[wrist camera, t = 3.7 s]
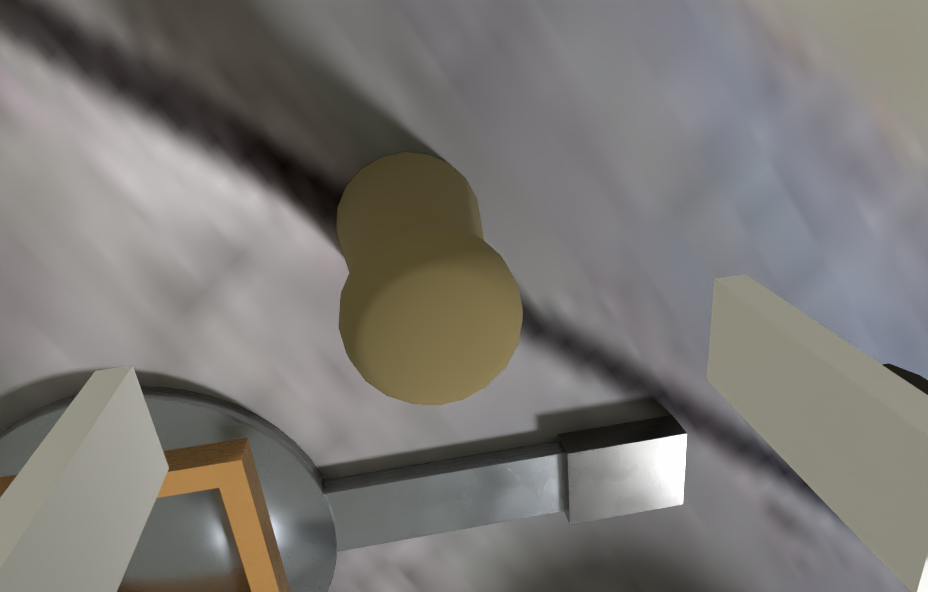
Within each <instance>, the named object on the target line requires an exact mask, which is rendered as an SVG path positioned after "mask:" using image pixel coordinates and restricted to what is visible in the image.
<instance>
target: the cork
mask: <svg viewBox="0 0 928 592" xmlns="http://www.w3.org/2000/svg"><path fill="white" fill-rule="evenodd" d="M336 231H337V234H338V238H339V241H340V245H341V248H342V252H343V255H344V258H345V261H346V264H347V267H348V270H349V275H348V278H347V280H346V282H345V285H344V287H343V290H342V292H341V298H340V314H339V330H340V334H341V337H342V340H343V343H344V347H345V350H346V353H347V355H348V357H349V359H350V361H351V362H352V363H353V365H354V366H355V367H356V369H357V370H358V371H359V373H360V374H361V375H362V377H363V378H364V379H365V381H366V382H368V383H369V384H371V385H372V386H374V387H375V388H376V389H378V390H379V391H381V392H382V393H384V394H385V395H387V396H389V397H392V398H396V399H399V400H402V401H405V402H408V403H411V404H422V405H442V404H446V403H450V402H454V401H458V400H462V399H465V398H467V397H468V396H470V395H472V394H474V393H476V392H477V391H479V390H481V389H483V388H485V387H486V386H487V385H488V384H489V383H490V382H491V381H492V380H493V379H494V378H495V377H496V376H497V375H498V374H499V373H500V372H501V371H502V370H503V369H504V368H505V367H506V366H507V364H508V362H509V360H510V358H511V357H512V355H513V353H514V351H515V349H516V347H517V345H518V342H519V336H520V330H521V325H522V314H523V311H522V305H521V299H520V293H519V287H518V284H517V282H516V280H515V279H514V277H513V275H512V273H511V272H510V270H509V268H508V266H507V265H506V263H505V261H504V260H503V258H502V257H501V255H500V254H498V253H497V252H496V251H495V250H494V249H493V248H492V247H490V246H489V245H488V244H487V243H486V242H485V241H484V238H483V231H482V225H481V218H480V213H479V208H478V202H477V198H476V196H475V194H474V192H473V191H472V189H471V187H470V185H469V183H468V182H467V180H466V178H464V177H463V176H462V175H461V174H460V173H459V172H458V171H457V170H456V169H455V168H453V167H452V166H451V165H450V164H449V163H447V162H445V161H442V160H440V159H438V158H435V157H433V156H431V155H429V154H421V153H411V152H401V153H397V154H392V155H388V156H383V157H380V158H379V159H377V160H375V161H374V162H372V163H370V164H369V165H367V166H365V167H364V168H362V169H361V170H360V171H359V172H358V173H357V174H356V175H355V177H354V178H353V179H352V180H351V181H350V182H349V184H348V185H347V186H346V188H345V190H344V193H343V195H342V198H341V200H340V203H339V205H338V208H337V225H336Z"/></svg>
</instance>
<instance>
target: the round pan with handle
mask: <svg viewBox="0 0 928 592" xmlns="http://www.w3.org/2000/svg"><path fill="white" fill-rule="evenodd" d="M141 390H142V393H143V396H144V399H145V402H146V404H147V407H148V410H149V413H150V416H151V419H152V421H153V424H154V427H155V430H156V433H157V436H158V438H159V441H160V444H161V447H162V450H163V453H164V455H165V458H166V461H167V464H168V467H169V469H168V472H167V474H166V476H165V479H164V481H163V484H162V486H161V488H160V491H159V493H158V495H157V498H156V500H155V503H154V505H153V507H152V510H151V512H150V514H149V517H148V519H147V521H146V524H145V526H144V529H143V531H142V533H141V536H140V538H139V540H138V543H137V545H136V547H135V550H134V552H133V555H132V557H131V559H130V562H129V564H128V566H127V569H126V571H125V573H124V576H123V578H122V581H121V583H120V585H119V588H118V590H117V592H327V591H328V589H329V586H330V583H331V581H332V578H333V574H334V569H335V564H336V553H337V552H338V551H343V550H349V549H354V548H360V547H366V546H371V545H377V544H382V543H388V542H393V541H399V540H405V539H410V538H416V537H421V536H427V535H432V534H438V533H444V532H449V531H455V530H460V529H466V528H471V527H477V526H483V525H488V524H494V523H499V522H505V521H510V520H516V519H522V518H527V517H533V516H538V515H544V514H549V513H555V512H561V511H564V512H565V514H566V516H567V519H568V521H569V524H570V525H572V524H577V523H583V522H588V521H594V520H599V519H605V518H610V517H616V516H621V515H627V514H632V513H638V512H643V511H649V510H654V509H660V508H665V507H671V506H676V505H682V504H683V496H684V478H685V461H686V443H687V433H686V432H685V430H684V429H683V428H682V427H681V425H680V424H679V423H678V422H677V420H676V419H675V418H674V417H673V415H672V416H666V417H660V418H654V419H648V420H642V421H636V422H630V423H624V424H618V425H612V426H606V427H600V428H594V429H588V430H582V431H576V432H570V433H564V434H558V440H559V441H556V442H550V443H544V444H538V445H532V446H526V447H520V448H515V449H509V450H503V451H497V452H491V453H485V454H479V455H473V456H467V457H461V458H455V459H449V460H443V461H437V462H431V463H425V464H420V465H414V466H408V467H402V468H396V469H390V470H384V471H378V472H372V473H366V474H360V475H354V476H348V477H342V478H336V479H331V480H324V478H323V476H322V474H321V473H320V472H319V470H318V469H317V467H316V466H315V464H314V463H313V462H312V460H311V459H310V457H309V456H308V455H307V454H306V453H305V452H304V451H303V450H302V449H301V448H300V447H299V446H298V445H297V444H296V443H295V442H294V441H293V440H292V439H291V438H289V437H288V436H287V435H286V434H284V433H283V432H282V431H281V430H280V429H278V428H277V427H275V426H274V425H272V424H271V423H269V422H267V421H266V420H264V419H263V418H261V417H259V416H258V415H256V414H254V413H252V412H249V411H247V410H245V409H243V408H241V407H239V406H237V405H235V404H232V403H229V402H226V401H223V400H220V399H217V398H214V397H211V396H207V395H203V394H199V393H194V392H190V391H186V390H178V389H170V388H161V387H141ZM76 396H77V395H75V396H72V397H69V398H66V399H63V400H60V401H57V402H54V403H51V404H49V405H47V406H45V407H43V408H41V409H39V410H37V411H34V412H32V413H30V414H29V415H27V416H25V417H24V418H22V419H21V420H19V421H18V422H16V423H15V424H13V425H12V426H10V427H9V428H8V429H7V430H6V431H4V432H3V433H2V434H1V435H0V498H1V496H2V495H3V494H4V492H5V491H6V490H7V488H8V487H9V485H10V484H11V483H12V481H13V480H14V479H15V477H16V476H17V475H18V473H19V472H20V471H21V469H22V468H23V467H24V465H25V464H26V463H27V461H28V460H29V459H30V457H31V456H32V455H33V453H34V452H35V451H36V449H37V448H38V447H39V445H40V444H41V443H42V441H43V440H44V439H45V437H46V436H47V435H48V433H49V432H50V431H51V429H52V428H53V427H54V425H55V424H56V423H57V421H58V420H59V419H60V417H61V416H62V415H63V413H64V412H65V411H66V409H67V408H68V407H69V405H70V404H71V403H72V401H73V400H74V399H75V397H76Z"/></svg>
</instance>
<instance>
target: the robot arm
mask: <svg viewBox="0 0 928 592" xmlns="http://www.w3.org/2000/svg"><path fill="white" fill-rule="evenodd" d="M707 380H708V381H709V382H710V383H711V385H712V386H713V387H714V388H715V389H716V390H717V391H718V392H719V393H720V394H721V395H722V396H723V397H724V398H725V399H726V400H727V401H728V402H729V403H730V404H731V405H732V406H733V407H734V408H735V409H736V411H737V412H738V413H739V414H740V415H741V416H742V417H743V418H744V419H745V420H746V421H747V422H748V423H749V424H750V425H751V426H752V427H753V428H754V429H755V430H756V431H757V432H758V433H759V434H760V435H761V436H762V438H763V439H764V440H765V441H766V442H767V443H768V444H769V445H770V446H771V447H772V448H773V449H774V450H775V451H776V452H777V453H778V454H779V455H780V456H781V457H782V458H783V459H784V460H785V461H786V462H787V464H788V465H789V466H790V467H791V468H792V469H793V470H794V471H795V472H796V473H797V474H798V475H799V476H800V477H801V478H802V479H803V480H804V481H805V482H806V483H807V484H808V485H809V486H810V487H811V488H812V490H813V491H814V492H815V493H816V494H817V495H818V496H819V497H820V498H821V499H822V500H823V501H824V502H825V503H826V504H827V505H828V506H829V507H830V508H831V509H832V510H833V511H834V512H835V513H836V514H837V515H838V517H839V518H840V519H841V520H842V521H843V522H844V523H845V524H846V525H847V526H848V527H849V528H850V529H851V530H852V531H853V532H854V533H855V534H856V535H857V536H858V537H859V538H860V539H861V540H862V541H863V543H864V544H865V545H866V546H867V547H868V548H869V549H870V550H871V551H872V552H873V553H874V554H875V555H876V556H877V557H878V558H879V559H880V560H881V561H882V562H883V563H884V564H885V565H886V566H887V567H888V569H889V570H890V571H891V572H892V573H893V574H894V575H895V576H896V577H897V578H898V579H899V580H900V581H901V582H902V583H903V584H904V585H905V586H906V587H907V588H908V589H909V590H910V591H911V592H928V380H926V379H925V378H923V377H922V376H920V375H917V374H915V373H912V372H910V371H907V370H904V369H902V368H899V367H897V366H894V365H891V364H883V365H881V364H880V363H878V362H877V361H875V360H874V359H872V358H871V357H869V356H868V355H866V354H865V353H863V352H862V351H860V350H859V349H857V348H856V347H854V346H853V345H851V344H850V343H848V342H847V341H845V340H844V339H842V338H841V337H839V336H838V335H836V334H835V333H833V332H832V331H830V330H829V329H827V328H826V327H824V326H823V325H821V324H819V323H818V322H816V321H815V320H813V319H812V318H810V317H809V316H807V315H806V314H804V313H803V312H801V311H800V310H798V309H797V308H795V307H794V306H792V305H791V304H789V303H788V302H786V301H785V300H783V299H782V298H780V297H779V296H777V295H776V294H774V293H773V292H771V291H770V290H768V289H767V288H765V287H764V286H762V285H761V284H759V283H758V282H756V281H755V280H753V279H752V278H750V277H749V276H747V275H746V274H743V275H737V276H730V277H723V278H717V279H714V290H713V303H712V316H711V329H710V342H709V355H708V368H707ZM168 469H169V467H168V464H167V461H166V458H165V455H164V453H163V450H162V447H161V444H160V441H159V438H158V436H157V433H156V430H155V427H154V424H153V421H152V419H151V416H150V413H149V410H148V407H147V404H146V402H145V399H144V396H143V393H142V390H141V387H140V385H139V382H138V379H137V376H136V373H135V370H134V368H133V365H131V366H125V367H118V368H111V369H105V370H98V371H95V372H94V373H93V375H92V376H91V377H90V379H89V380H88V381H87V383H86V384H85V385H84V387H83V388H82V389H81V391H80V392H79V393H78V395H77V396H76V397H75V399H74V400H73V401H72V403H71V404H70V405H69V407H68V408H67V409H66V411H65V412H64V413H63V415H62V416H61V417H60V419H59V420H58V421H57V423H56V424H55V425H54V427H53V428H52V429H51V431H50V432H49V433H48V435H47V436H46V437H45V439H44V440H43V441H42V443H41V444H40V445H39V447H38V448H37V449H36V451H35V452H34V453H33V455H32V456H31V457H30V459H29V460H28V461H27V463H26V464H25V465H24V467H23V468H22V469H21V471H20V472H19V473H18V475H17V476H16V477H15V479H14V480H13V481H12V483H11V484H10V485H9V487H8V488H7V490H6V491H5V492H4V494H3V495H2V496H1V498H0V592H117V590H118V588H119V585H120V583H121V581H122V578H123V576H124V573H125V571H126V569H127V566H128V564H129V562H130V559H131V557H132V555H133V552H134V550H135V547H136V545H137V543H138V540H139V538H140V536H141V533H142V531H143V529H144V526H145V524H146V521H147V519H148V517H149V514H150V512H151V510H152V507H153V505H154V503H155V500H156V498H157V495H158V493H159V491H160V488H161V486H162V484H163V481H164V479H165V476H166V474H167V472H168Z"/></svg>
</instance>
